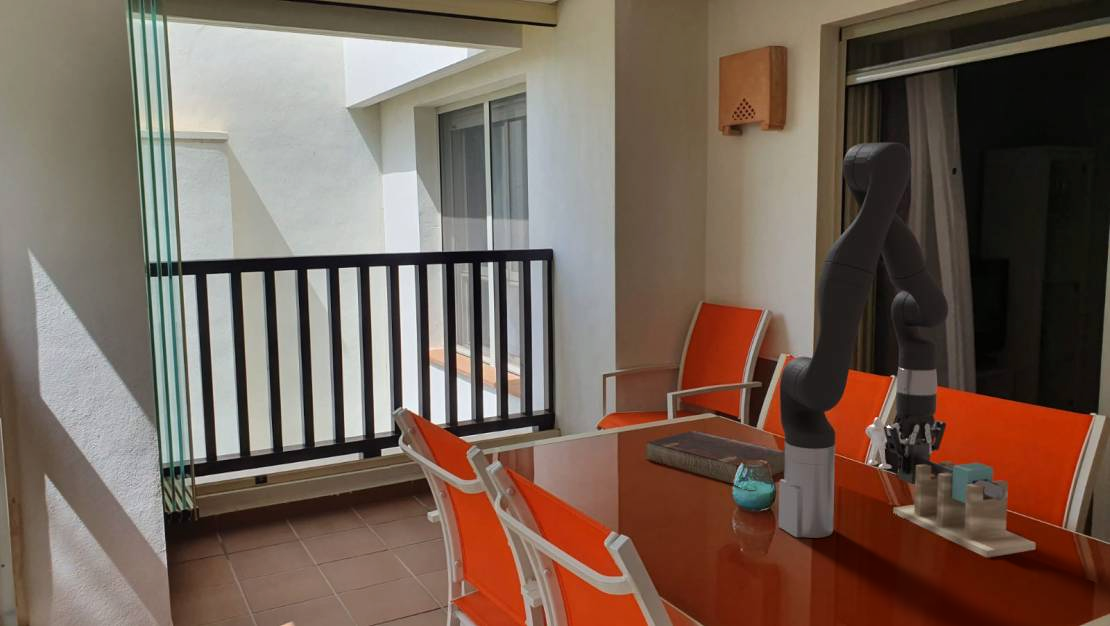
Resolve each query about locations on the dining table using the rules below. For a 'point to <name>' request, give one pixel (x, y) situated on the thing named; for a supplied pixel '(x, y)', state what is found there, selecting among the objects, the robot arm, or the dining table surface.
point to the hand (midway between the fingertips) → (913, 471)
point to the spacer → (969, 478)
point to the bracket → (963, 514)
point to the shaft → (941, 470)
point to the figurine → (878, 442)
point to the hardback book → (711, 454)
